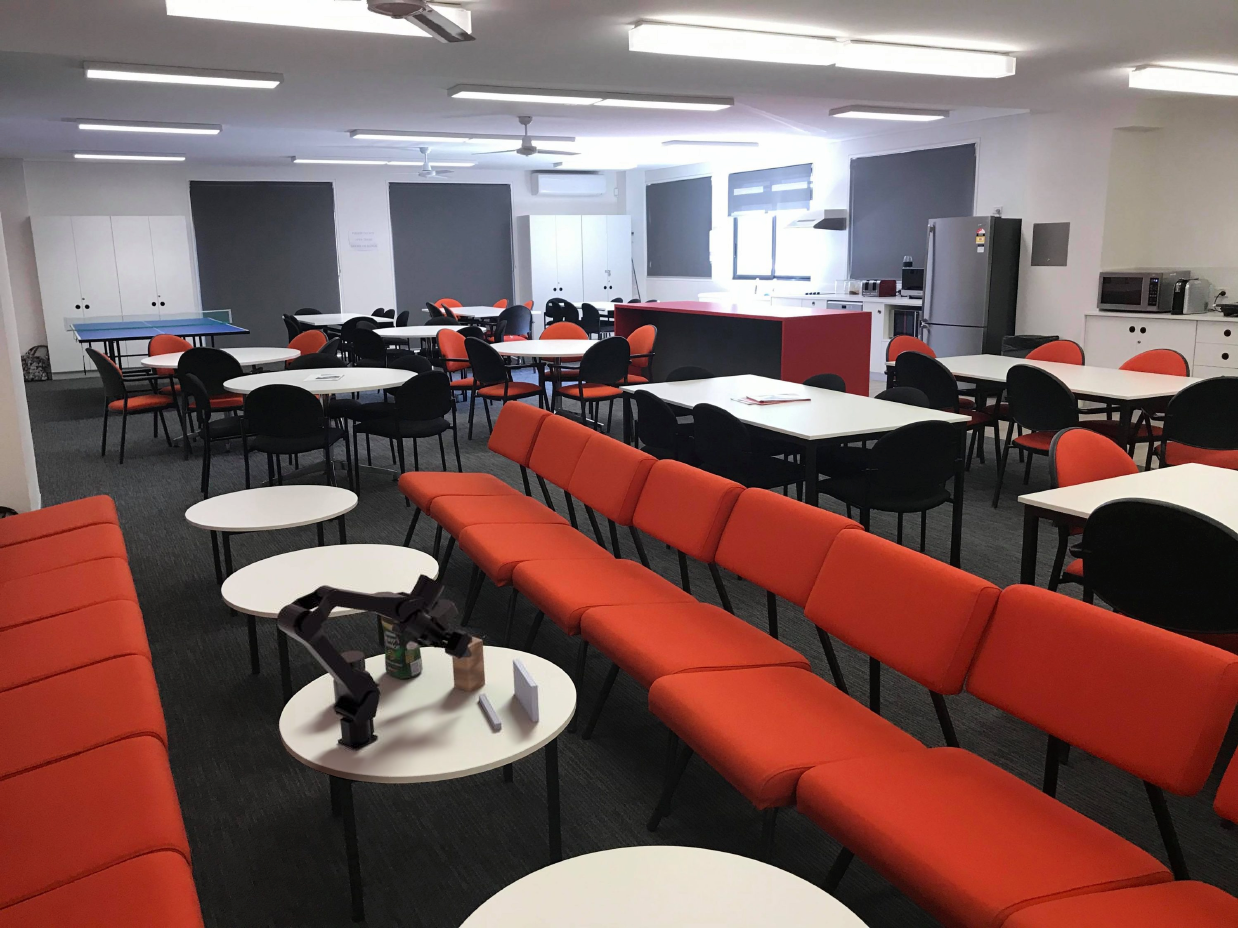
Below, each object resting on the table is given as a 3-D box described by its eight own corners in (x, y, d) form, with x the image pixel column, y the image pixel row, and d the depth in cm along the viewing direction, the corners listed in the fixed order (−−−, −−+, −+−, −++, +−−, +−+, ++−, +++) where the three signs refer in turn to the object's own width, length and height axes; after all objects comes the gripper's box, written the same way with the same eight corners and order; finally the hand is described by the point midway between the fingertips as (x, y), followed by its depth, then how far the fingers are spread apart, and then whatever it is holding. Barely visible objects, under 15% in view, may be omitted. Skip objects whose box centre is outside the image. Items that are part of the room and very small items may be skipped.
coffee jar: (380, 672, 245) (374, 606, 241) (405, 662, 251) (400, 597, 246) (403, 682, 239) (397, 614, 234) (428, 672, 244) (423, 605, 240)
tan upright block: (469, 692, 233) (465, 641, 230) (454, 686, 236) (450, 636, 233) (485, 683, 237) (482, 634, 234) (470, 678, 240) (467, 629, 237)
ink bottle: (381, 697, 231) (377, 652, 228) (356, 713, 223) (352, 667, 221) (351, 690, 235) (347, 646, 233) (326, 705, 228) (321, 660, 225)
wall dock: (495, 729, 214) (493, 693, 212) (479, 699, 228) (476, 665, 226) (539, 720, 218) (537, 685, 216) (520, 691, 232) (518, 658, 230)
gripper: (463, 602, 218) (499, 630, 229) (411, 586, 230) (448, 613, 241) (439, 645, 214) (478, 671, 225) (388, 626, 225) (427, 652, 236)
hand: (458, 650), depth 232 cm, fingers open, 9 cm apart
